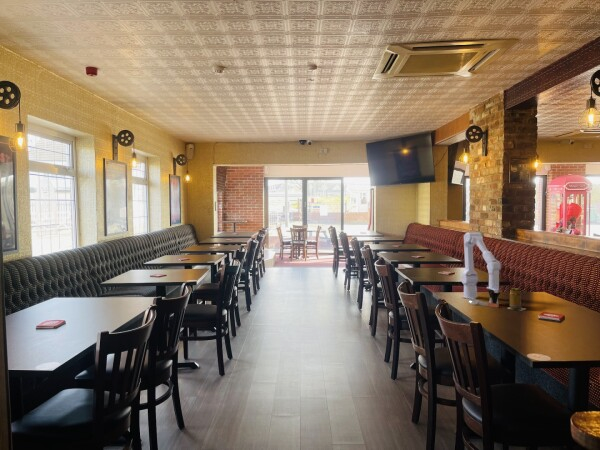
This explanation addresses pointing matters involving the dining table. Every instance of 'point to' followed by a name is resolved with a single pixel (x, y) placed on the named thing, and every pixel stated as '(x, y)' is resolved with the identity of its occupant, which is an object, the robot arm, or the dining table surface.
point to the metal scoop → (482, 303)
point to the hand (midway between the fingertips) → (493, 302)
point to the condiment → (515, 299)
